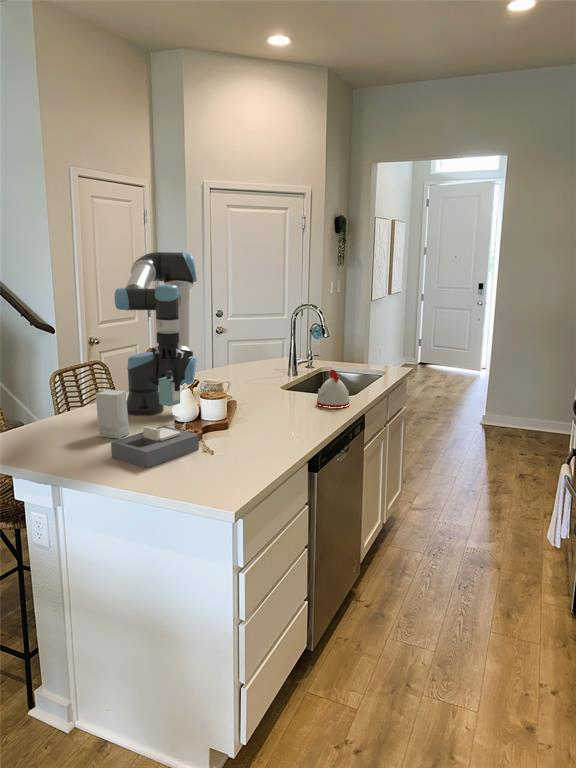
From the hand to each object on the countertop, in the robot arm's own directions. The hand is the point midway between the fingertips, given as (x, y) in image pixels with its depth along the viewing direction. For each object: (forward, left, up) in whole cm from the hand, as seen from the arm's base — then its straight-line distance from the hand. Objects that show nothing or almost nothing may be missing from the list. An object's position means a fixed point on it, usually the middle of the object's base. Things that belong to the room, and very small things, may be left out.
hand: (169, 398), depth 202 cm
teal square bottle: (0, 0, -2) cm, 2 cm away
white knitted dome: (+23, +73, -13) cm, 78 cm away
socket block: (+10, -16, -13) cm, 23 cm away
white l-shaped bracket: (+10, -14, -8) cm, 19 cm away
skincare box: (-15, -12, -13) cm, 24 cm away
